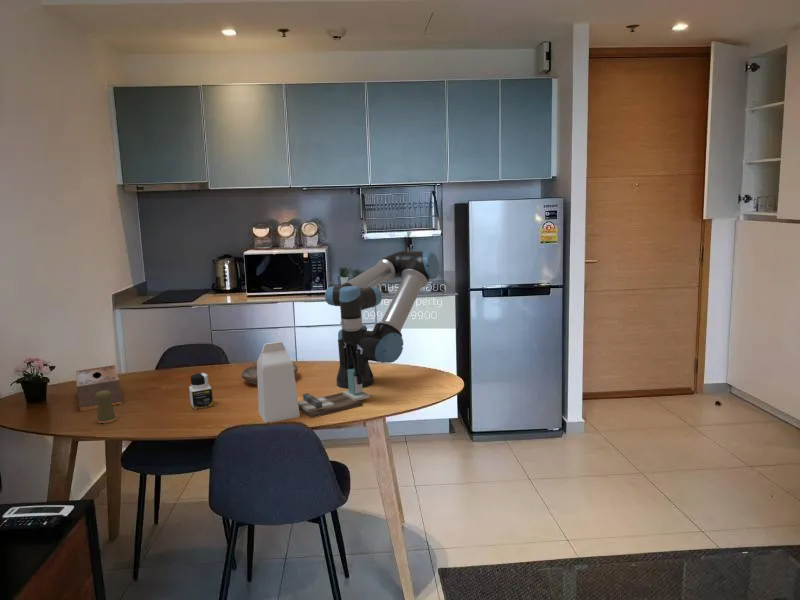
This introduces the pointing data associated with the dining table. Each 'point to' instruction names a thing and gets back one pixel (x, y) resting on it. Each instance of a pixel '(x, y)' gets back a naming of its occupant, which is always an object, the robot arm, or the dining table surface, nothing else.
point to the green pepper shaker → (104, 405)
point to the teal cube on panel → (353, 388)
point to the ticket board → (326, 404)
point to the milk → (276, 384)
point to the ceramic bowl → (251, 373)
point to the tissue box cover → (97, 384)
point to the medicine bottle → (200, 391)
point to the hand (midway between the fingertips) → (355, 390)
